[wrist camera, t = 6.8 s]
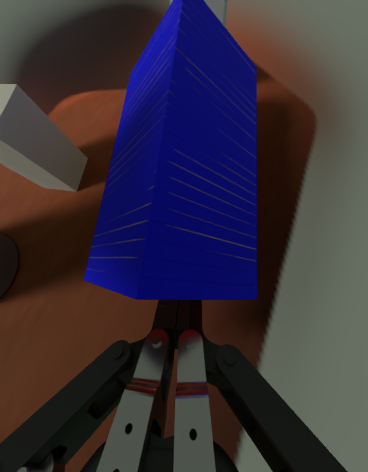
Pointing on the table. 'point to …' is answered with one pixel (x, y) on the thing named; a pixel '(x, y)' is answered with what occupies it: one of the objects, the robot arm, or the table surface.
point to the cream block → (36, 143)
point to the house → (183, 169)
